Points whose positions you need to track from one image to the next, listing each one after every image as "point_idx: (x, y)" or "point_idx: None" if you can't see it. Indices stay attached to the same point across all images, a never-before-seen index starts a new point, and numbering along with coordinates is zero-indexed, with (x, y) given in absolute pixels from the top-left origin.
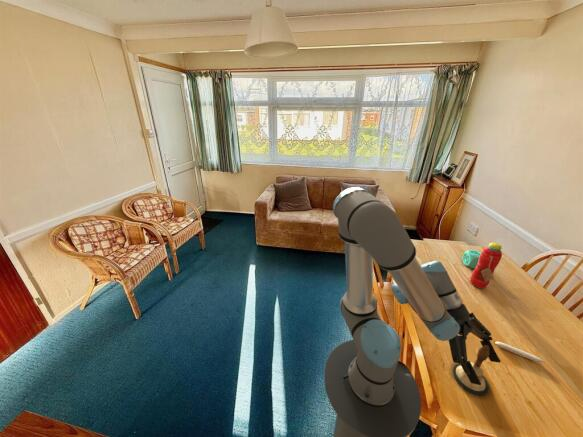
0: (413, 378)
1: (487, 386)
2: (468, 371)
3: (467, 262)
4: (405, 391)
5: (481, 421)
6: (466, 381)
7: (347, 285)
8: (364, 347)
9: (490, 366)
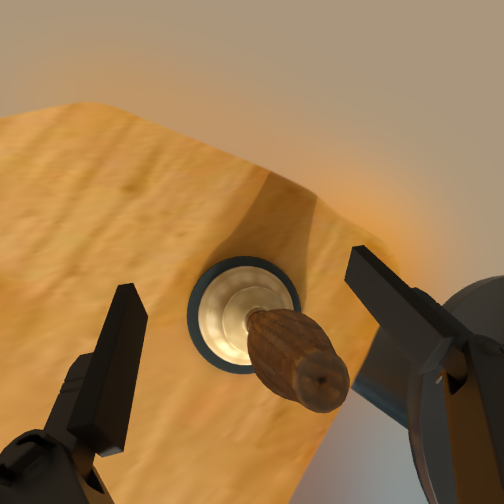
0: (424, 386)
1: (216, 269)
2: (432, 299)
3: None
4: None
5: (330, 217)
6: (287, 306)
7: None
8: None
9: None
